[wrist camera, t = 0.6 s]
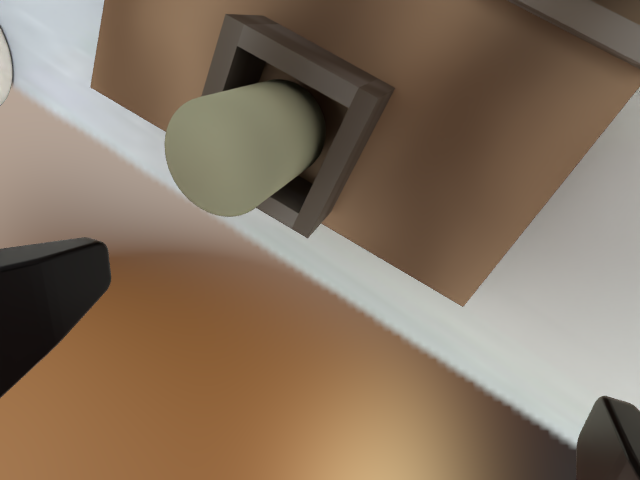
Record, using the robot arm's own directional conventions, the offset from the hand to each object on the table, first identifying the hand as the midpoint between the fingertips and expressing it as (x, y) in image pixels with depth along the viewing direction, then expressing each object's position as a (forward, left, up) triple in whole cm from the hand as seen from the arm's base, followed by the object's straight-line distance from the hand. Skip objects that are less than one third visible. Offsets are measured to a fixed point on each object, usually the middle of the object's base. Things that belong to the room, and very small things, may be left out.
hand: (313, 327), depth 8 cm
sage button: (+5, +1, -9) cm, 10 cm away
